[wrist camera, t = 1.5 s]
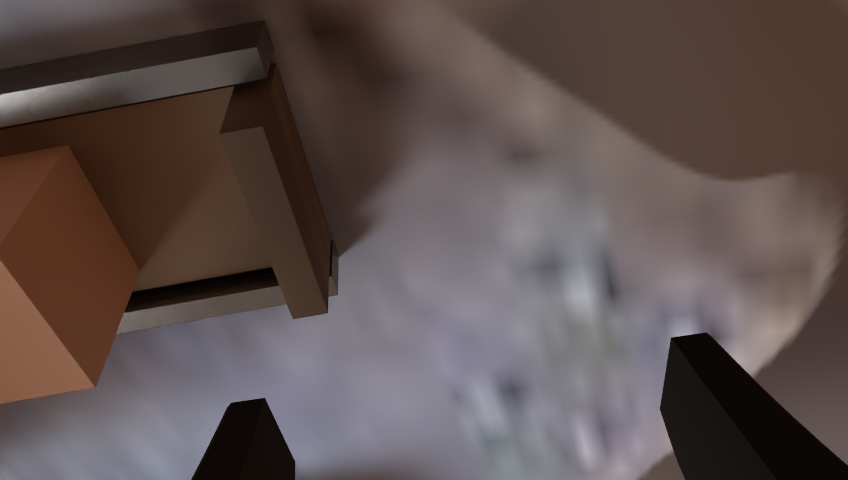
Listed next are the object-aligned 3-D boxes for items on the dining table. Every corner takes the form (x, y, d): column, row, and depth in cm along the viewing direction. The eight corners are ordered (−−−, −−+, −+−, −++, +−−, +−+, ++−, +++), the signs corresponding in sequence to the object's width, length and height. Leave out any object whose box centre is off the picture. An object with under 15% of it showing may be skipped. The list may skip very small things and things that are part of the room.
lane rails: (-63, 329, 22) (-91, 370, 21) (-256, 117, 17) (-310, 152, 16) (338, 258, 22) (337, 294, 20) (264, 20, 17) (256, 46, 15)
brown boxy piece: (-146, 322, 21) (-218, 408, 19) (-300, 169, 18) (-419, 251, 15) (330, 236, 21) (327, 312, 18) (276, 63, 17) (262, 126, 14)
